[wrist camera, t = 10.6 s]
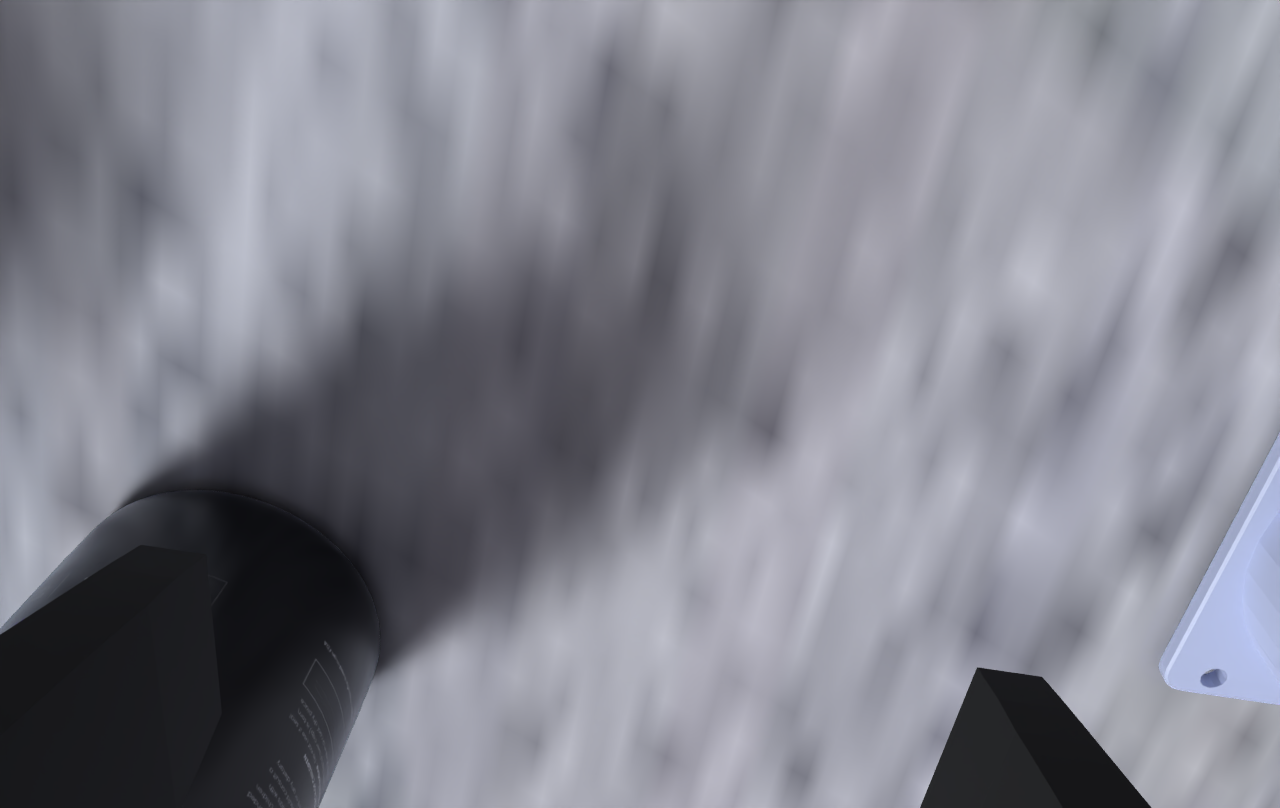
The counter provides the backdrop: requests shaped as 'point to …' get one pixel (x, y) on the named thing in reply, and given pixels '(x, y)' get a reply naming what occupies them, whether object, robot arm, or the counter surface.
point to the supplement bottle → (256, 638)
